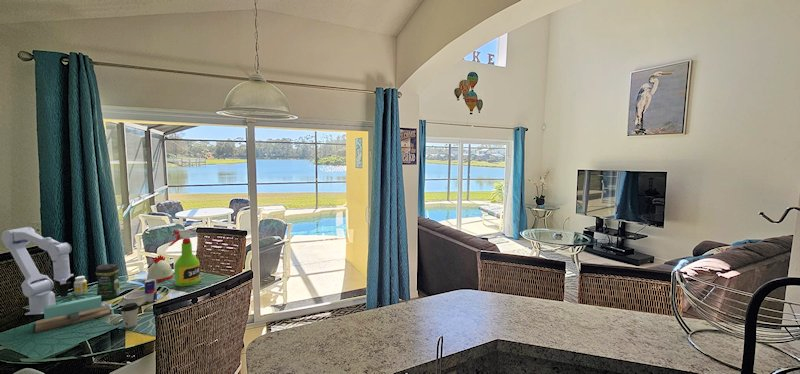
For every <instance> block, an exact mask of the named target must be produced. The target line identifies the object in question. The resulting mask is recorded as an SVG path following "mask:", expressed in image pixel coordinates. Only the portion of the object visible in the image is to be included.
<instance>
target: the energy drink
mask: <svg viewBox="0 0 800 374" xmlns="http://www.w3.org/2000/svg"><path fill="white" fill-rule="evenodd" d="M143 285H144V302H145V301H146V302H153V301H155V300H157V301H158V291H157V287H158V286H157V282H156V279H147V278H146V279H145V280H144V284H143ZM146 302H145V303H146ZM155 302H156V301H155ZM153 303H154V302H153Z"/></svg>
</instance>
